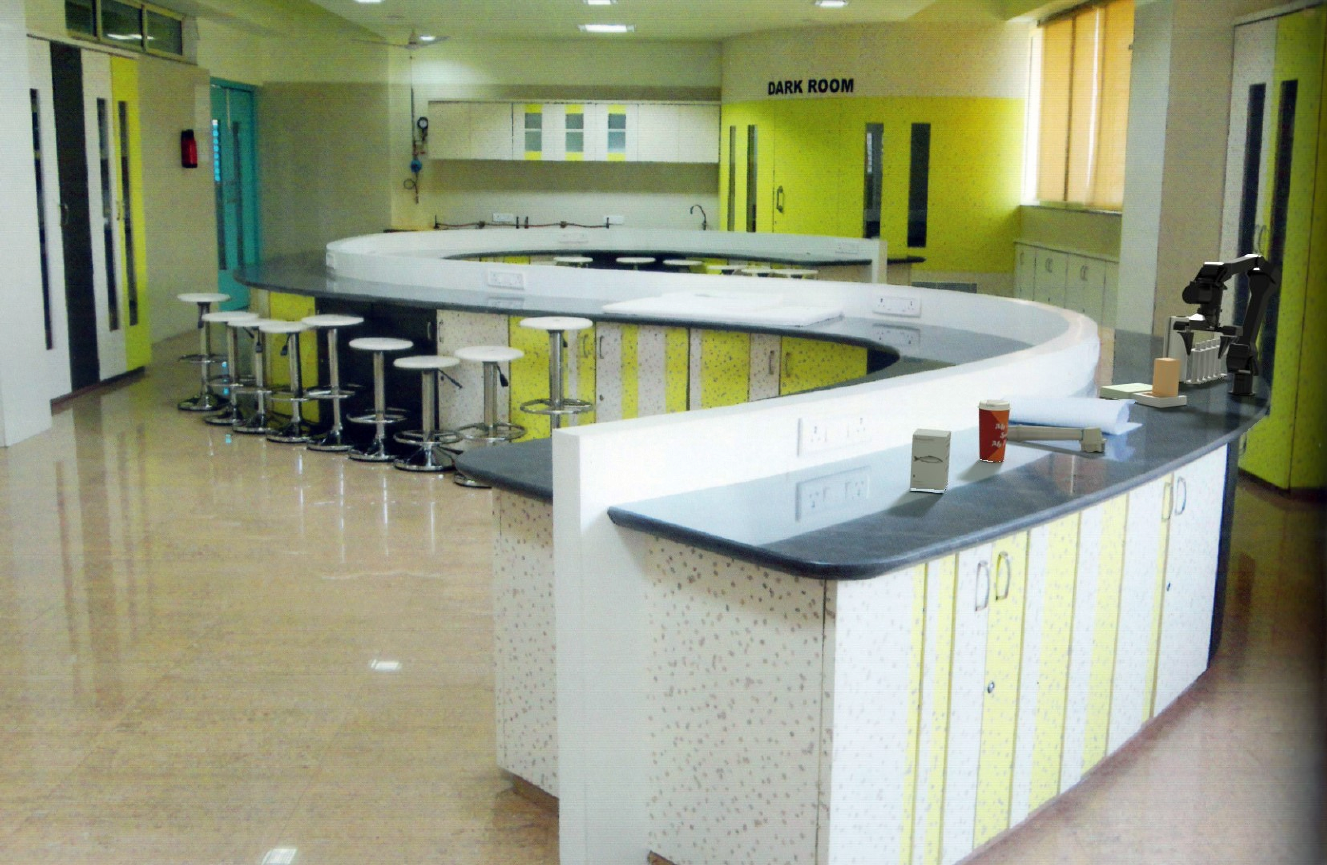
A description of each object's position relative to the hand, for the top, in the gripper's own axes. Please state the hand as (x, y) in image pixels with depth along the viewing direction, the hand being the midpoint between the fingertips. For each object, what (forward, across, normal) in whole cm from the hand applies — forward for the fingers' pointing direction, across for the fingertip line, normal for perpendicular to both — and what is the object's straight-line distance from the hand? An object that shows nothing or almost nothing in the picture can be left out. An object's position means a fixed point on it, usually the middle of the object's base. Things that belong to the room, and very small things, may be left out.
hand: (1203, 357), depth 355 cm
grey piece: (+20, +4, -88) cm, 91 cm away
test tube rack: (+11, -16, +40) cm, 45 cm away
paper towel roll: (+11, -22, +31) cm, 40 cm away
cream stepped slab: (+14, -11, -10) cm, 20 cm away
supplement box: (+24, +10, -147) cm, 149 cm away
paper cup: (+21, +3, -113) cm, 115 cm away
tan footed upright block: (+14, -5, -11) cm, 18 cm away
